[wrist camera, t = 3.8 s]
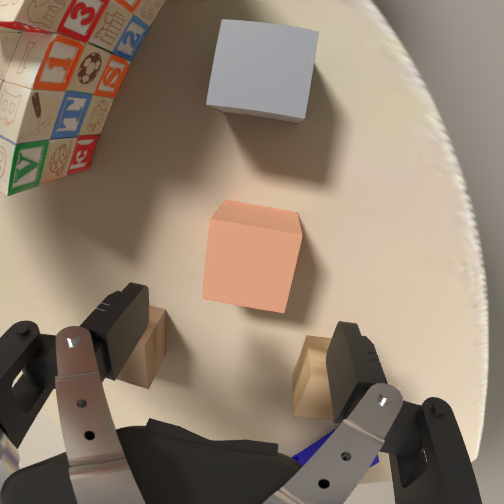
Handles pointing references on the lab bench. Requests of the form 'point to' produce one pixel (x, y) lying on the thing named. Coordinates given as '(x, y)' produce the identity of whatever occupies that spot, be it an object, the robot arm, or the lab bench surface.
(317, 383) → the oak block
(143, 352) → the tan block
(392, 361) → the lab bench surface
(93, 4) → the stack of blocks
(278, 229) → the terracotta block
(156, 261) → the lab bench surface
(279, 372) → the lab bench surface
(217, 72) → the gray block
